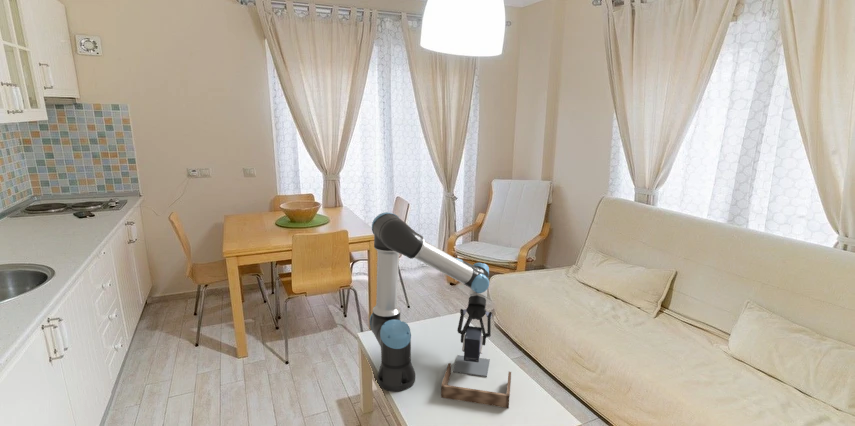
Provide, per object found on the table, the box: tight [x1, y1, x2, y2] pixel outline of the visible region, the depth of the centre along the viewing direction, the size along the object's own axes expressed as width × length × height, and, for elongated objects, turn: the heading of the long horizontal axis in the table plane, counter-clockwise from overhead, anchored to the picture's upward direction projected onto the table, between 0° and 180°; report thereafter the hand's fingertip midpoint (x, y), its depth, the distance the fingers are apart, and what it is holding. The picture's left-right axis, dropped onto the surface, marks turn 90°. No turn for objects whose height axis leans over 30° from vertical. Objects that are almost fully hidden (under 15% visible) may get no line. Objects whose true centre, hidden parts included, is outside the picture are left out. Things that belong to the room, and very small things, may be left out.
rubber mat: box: [452, 354, 491, 378], centre depth 181 cm, size 14×12×1 cm
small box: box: [463, 325, 483, 362], centre depth 179 cm, size 11×6×10 cm, turn 168°
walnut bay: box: [440, 362, 512, 409], centre depth 166 cm, size 25×15×5 cm, turn 77°
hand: (471, 351), depth 176 cm, fingers closed on small box, 6 cm apart
